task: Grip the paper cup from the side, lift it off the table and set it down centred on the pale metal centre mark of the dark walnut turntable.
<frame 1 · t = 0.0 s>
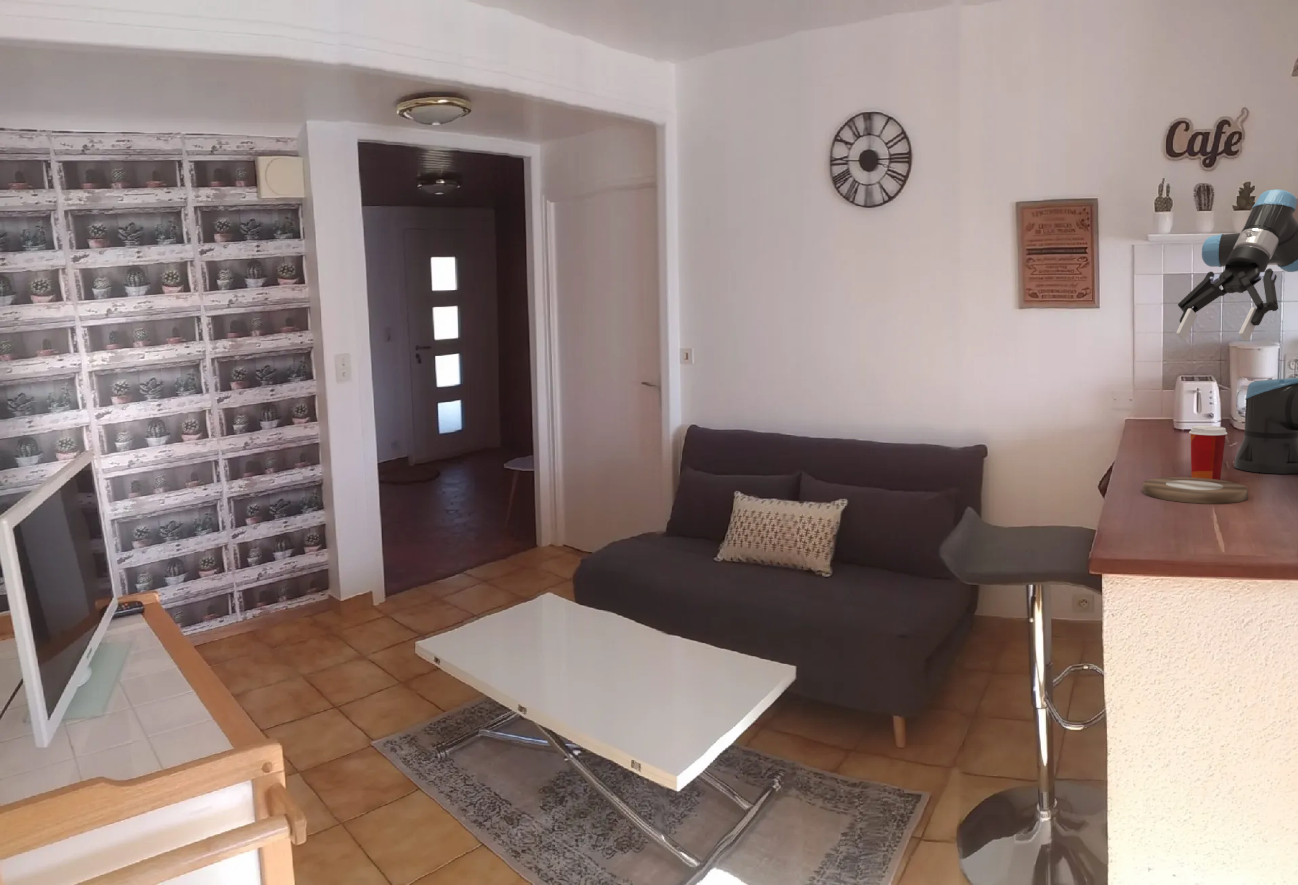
hand: (1210, 336, 196), 36 cm above the table, tool tilted 35°, fingers open, 13 cm apart
paper cup: (1204, 486, 216), on the table
turntable: (1194, 489, 203), point 2 cm above the table, hinge at 0.0°
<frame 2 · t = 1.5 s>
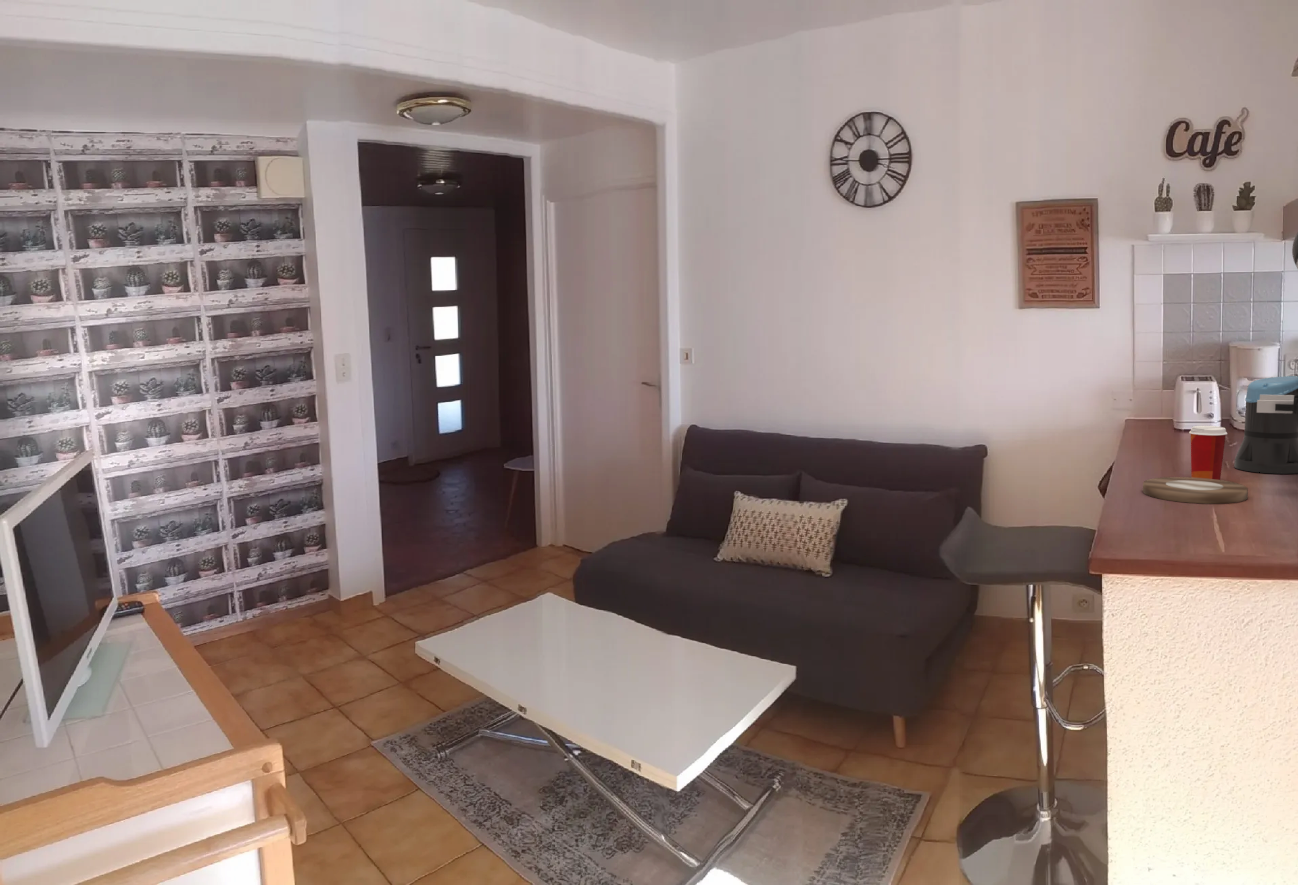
hand: (1258, 403, 208), 20 cm above the table, tool horizontal, fingers open, 13 cm apart
nothing on the table moved.
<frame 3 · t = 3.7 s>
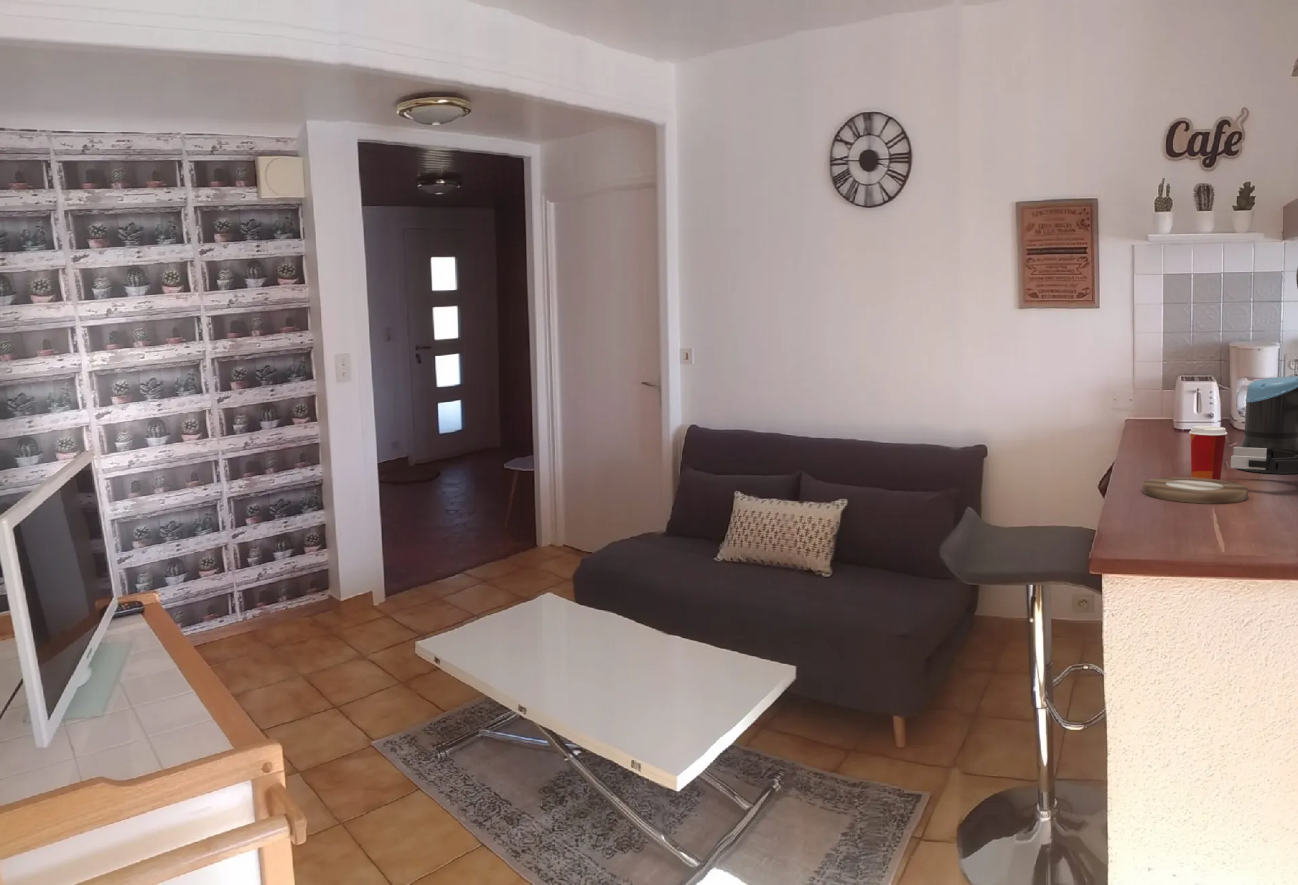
hand: (1231, 457, 212), 7 cm above the table, tool horizontal, fingers open, 13 cm apart
nothing on the table moved.
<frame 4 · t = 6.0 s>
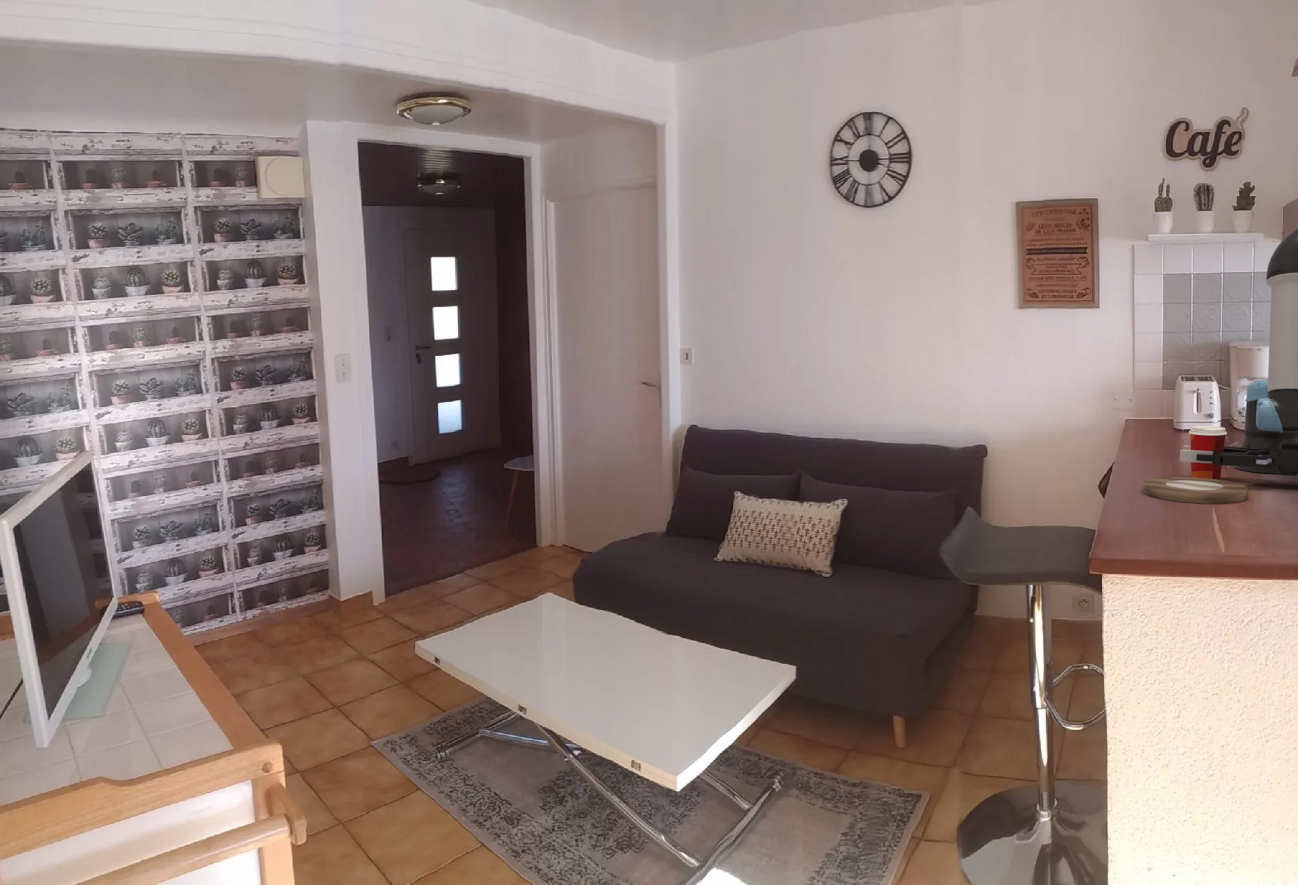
hand: (1182, 453, 218), 8 cm above the table, tool horizontal, fingers closed on paper cup, 6 cm apart
paper cup: (1204, 486, 216), on the table, touching gripper
everything else where it was.
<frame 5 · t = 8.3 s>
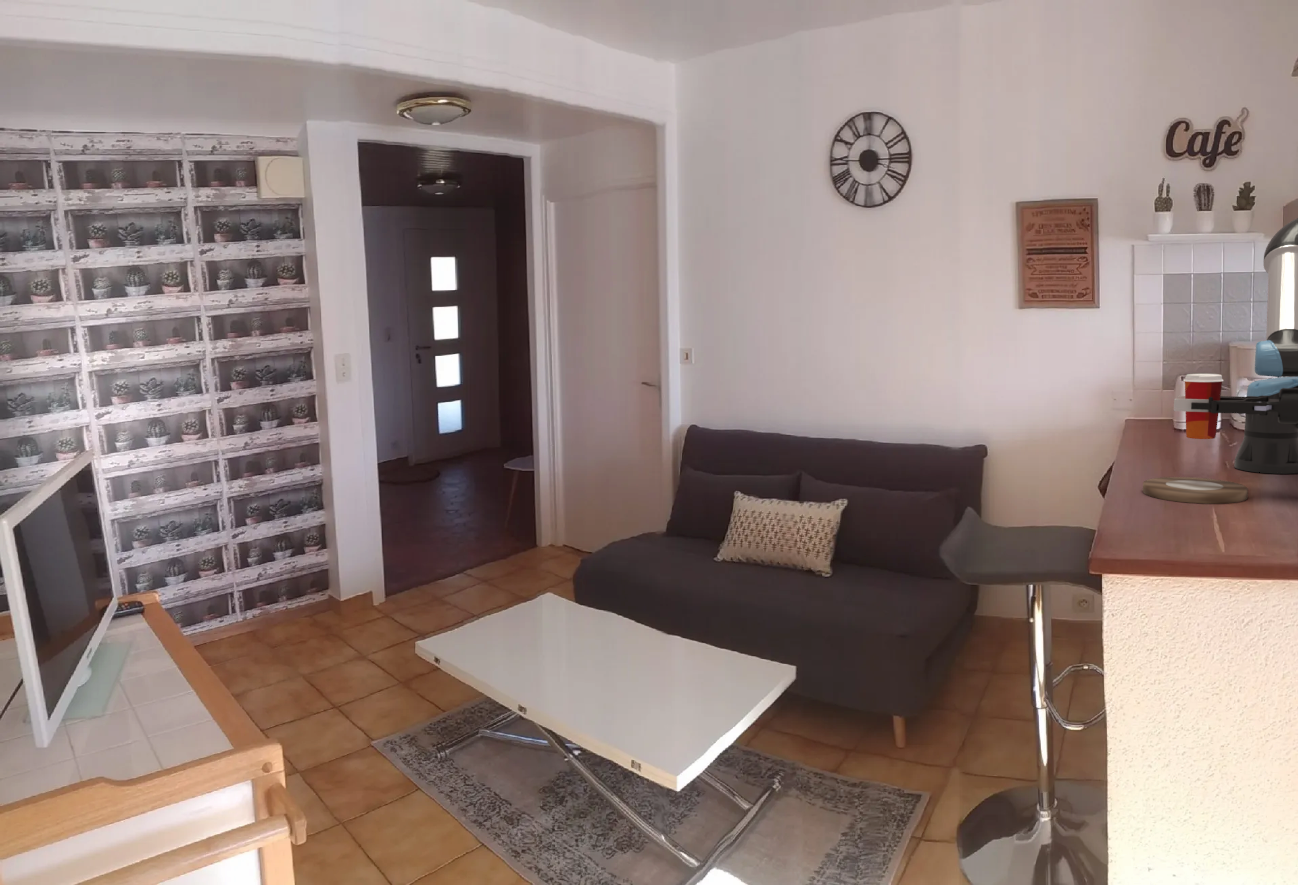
hand: (1176, 403, 206), 21 cm above the table, tool horizontal, fingers closed on paper cup, 6 cm apart
paper cup: (1200, 438, 204), point 13 cm above the table, touching gripper
everything else where it was.
when the fingers open (12 cm above the table, at t = 10.8 s): paper cup drops 1 cm, resting on turntable.
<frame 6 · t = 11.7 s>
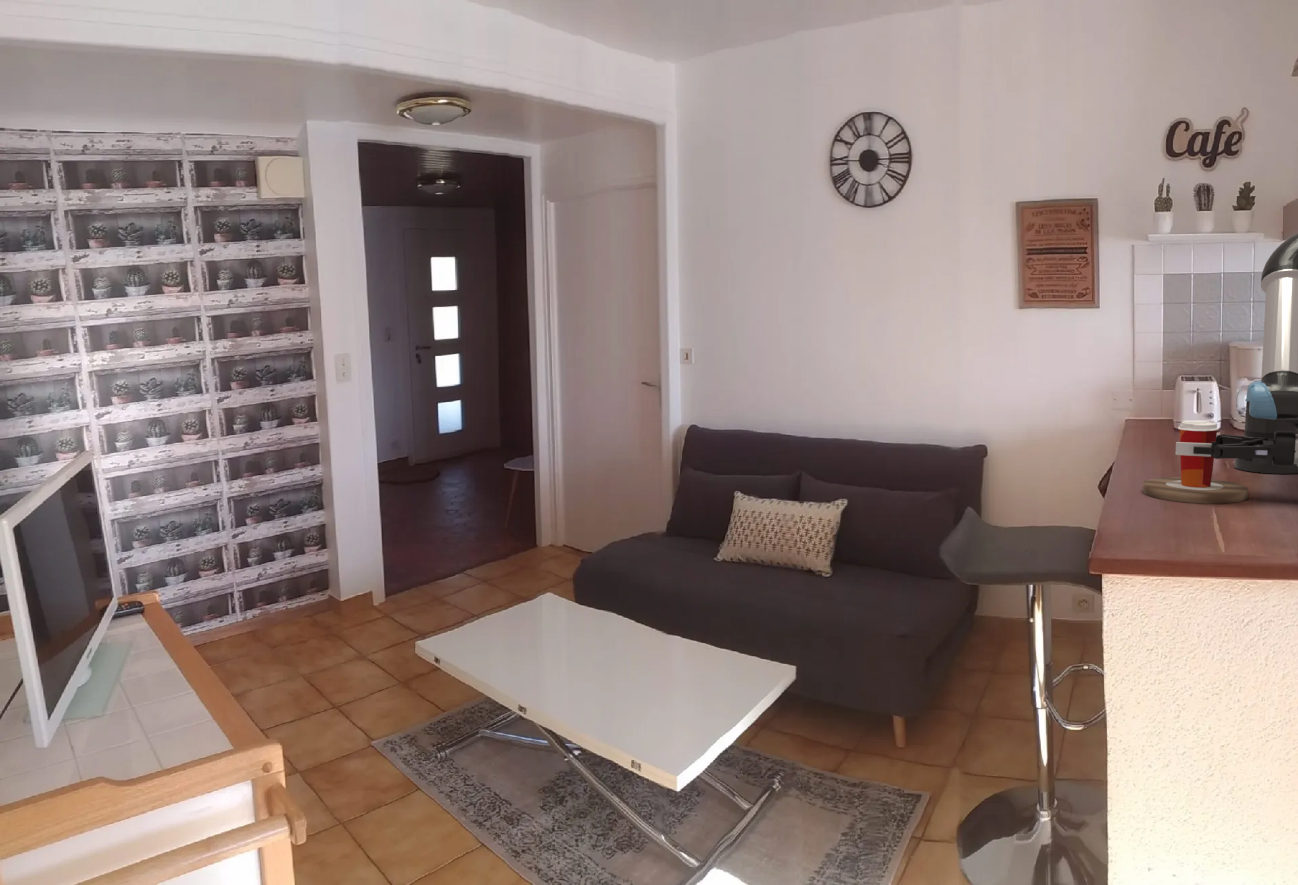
hand: (1178, 444, 203), 12 cm above the table, tool horizontal, fingers open, 13 cm apart
paper cup: (1195, 486, 203), point 3 cm above the table, touching turntable
turntable: (1194, 489, 203), point 2 cm above the table, hinge at 0.0°, touching paper cup
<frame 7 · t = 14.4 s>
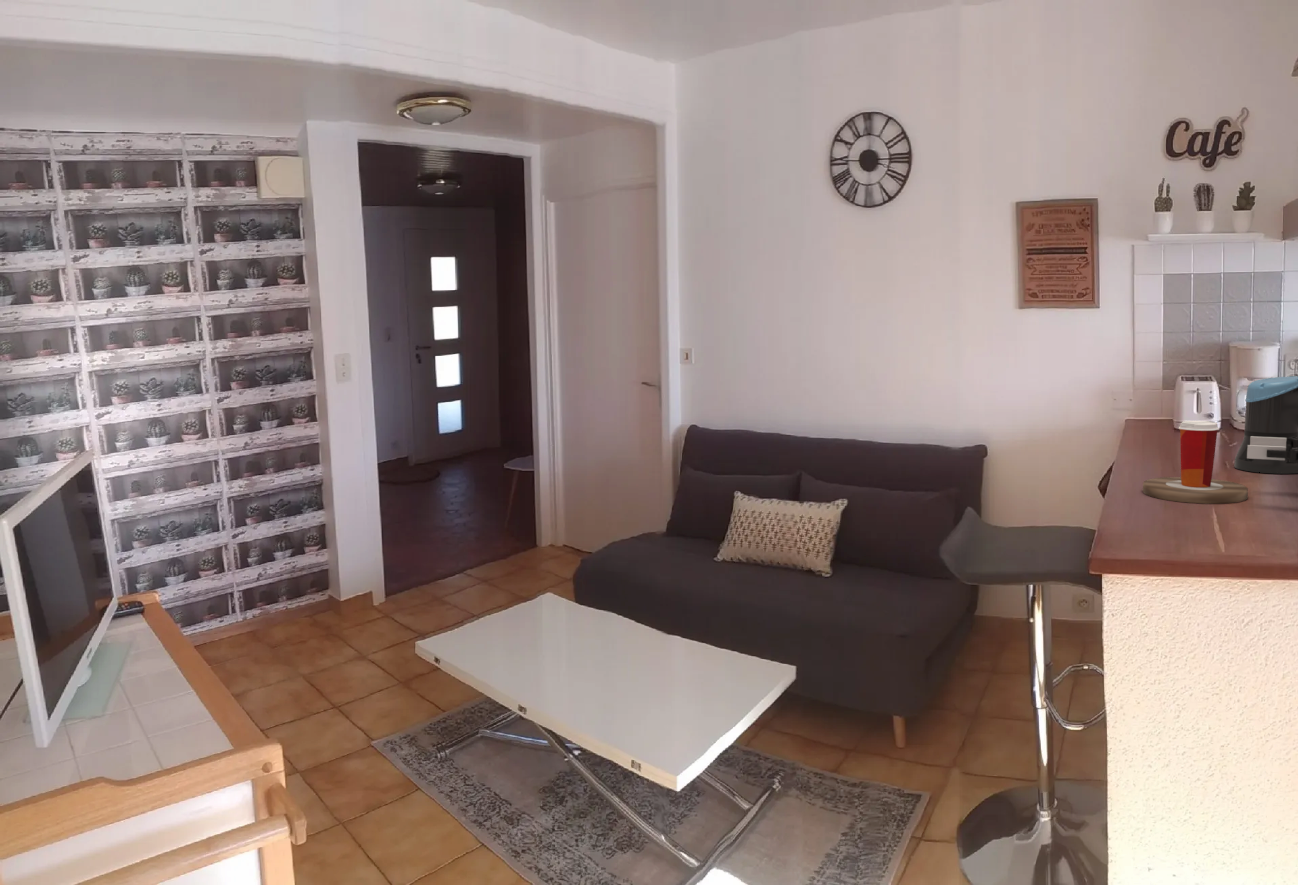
hand: (1248, 447, 196), 12 cm above the table, tool horizontal, fingers open, 13 cm apart
nothing on the table moved.
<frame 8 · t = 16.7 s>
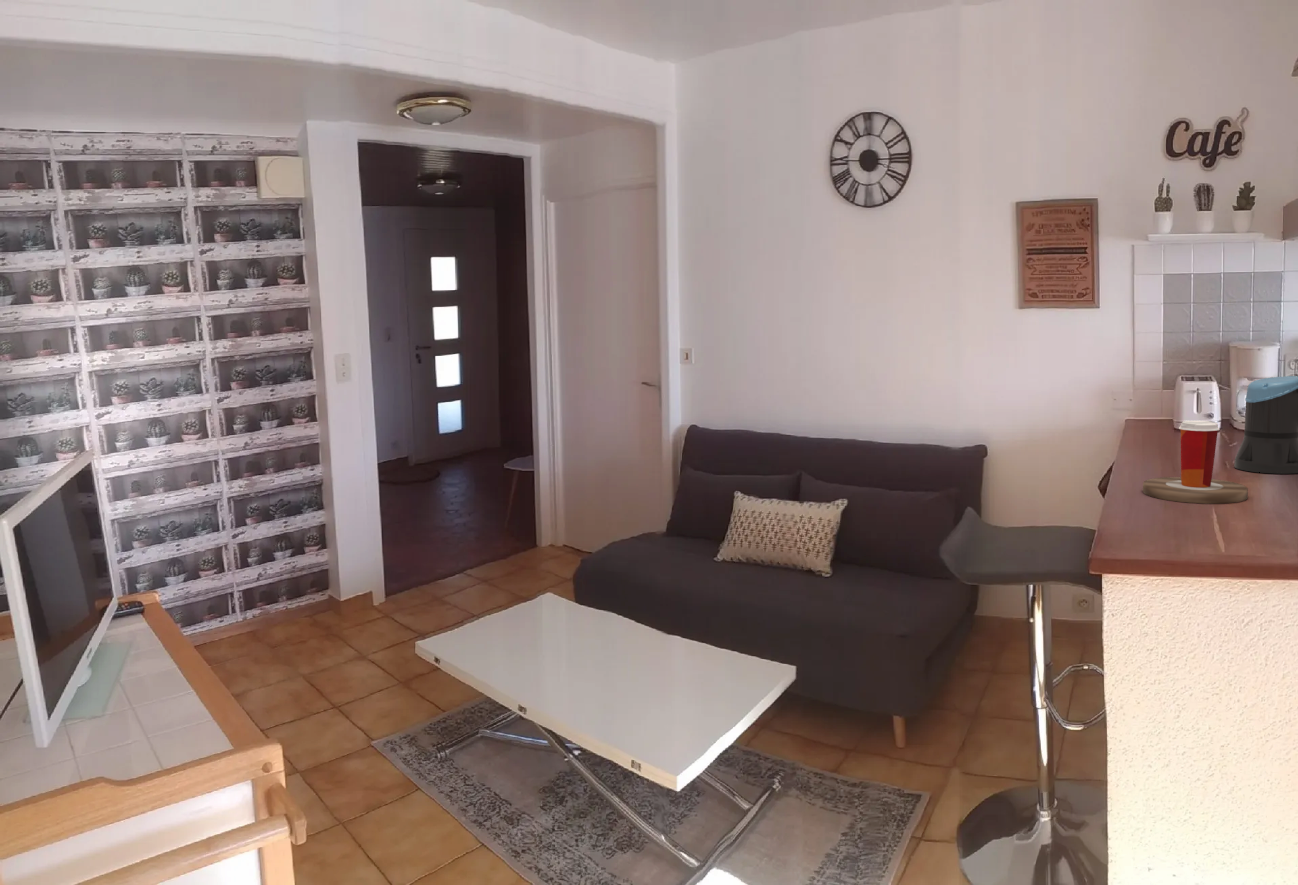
nothing on the table moved.
at the end: paper cup 0.3 cm from the turntable (horizontally); paper cup tilted 1°; the gripper is holding nothing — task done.
